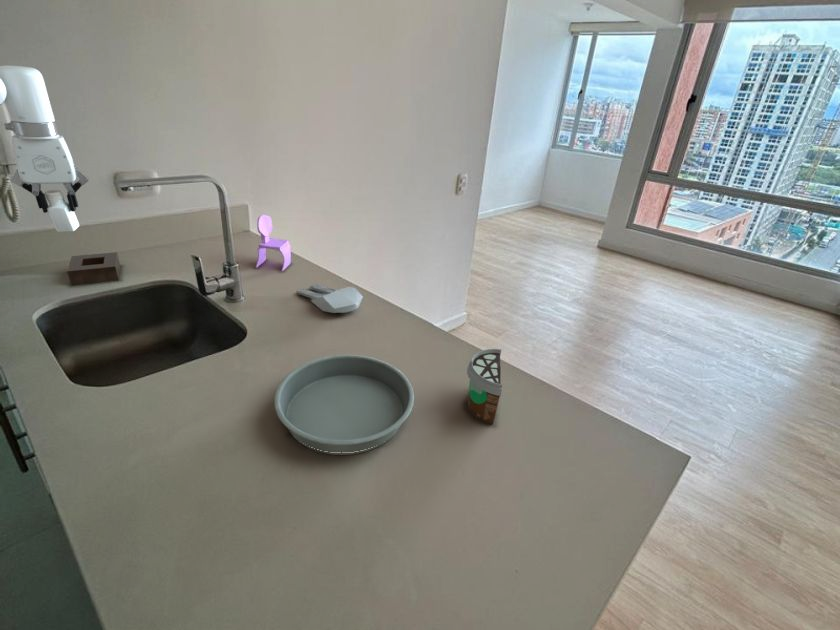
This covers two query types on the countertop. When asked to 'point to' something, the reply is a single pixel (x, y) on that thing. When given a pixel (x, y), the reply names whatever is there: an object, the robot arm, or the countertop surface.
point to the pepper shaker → (61, 212)
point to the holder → (94, 268)
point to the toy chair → (271, 242)
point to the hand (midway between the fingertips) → (60, 209)
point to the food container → (484, 384)
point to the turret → (334, 298)
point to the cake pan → (344, 403)
